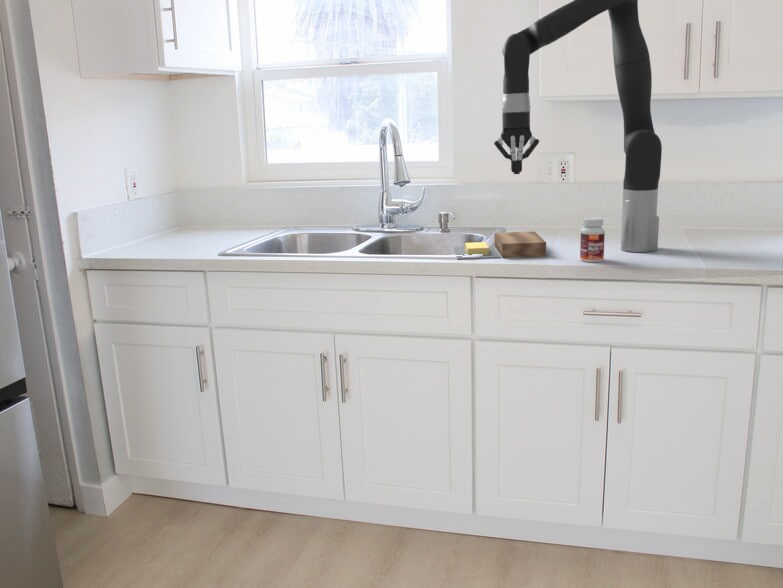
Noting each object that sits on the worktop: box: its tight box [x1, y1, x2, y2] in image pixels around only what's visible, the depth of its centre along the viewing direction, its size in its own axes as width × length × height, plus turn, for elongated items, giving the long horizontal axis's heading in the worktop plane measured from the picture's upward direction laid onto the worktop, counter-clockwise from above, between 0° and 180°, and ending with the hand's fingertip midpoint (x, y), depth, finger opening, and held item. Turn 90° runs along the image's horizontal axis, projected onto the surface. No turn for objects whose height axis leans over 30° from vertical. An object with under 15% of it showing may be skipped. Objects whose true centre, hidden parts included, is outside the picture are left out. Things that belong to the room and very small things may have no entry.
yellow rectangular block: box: [464, 241, 489, 255], centre depth 215 cm, size 6×9×2 cm, turn 0°
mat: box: [452, 244, 502, 260], centre depth 217 cm, size 12×18×1 cm, turn 179°
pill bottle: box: [579, 216, 606, 263], centre depth 199 cm, size 6×6×11 cm
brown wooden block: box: [494, 231, 547, 259], centre depth 216 cm, size 12×18×4 cm, turn 179°
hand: (516, 173), depth 210 cm, fingers closed
